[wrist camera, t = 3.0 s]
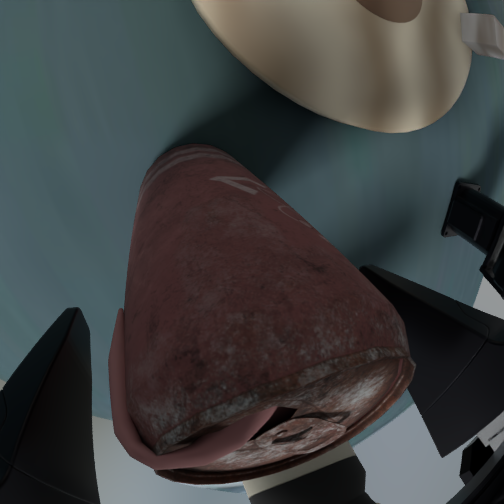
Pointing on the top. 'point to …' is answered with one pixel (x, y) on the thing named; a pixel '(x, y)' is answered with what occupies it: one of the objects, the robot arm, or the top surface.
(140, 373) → the can
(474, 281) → the top surface
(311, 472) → the travel mug
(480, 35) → the turntable
